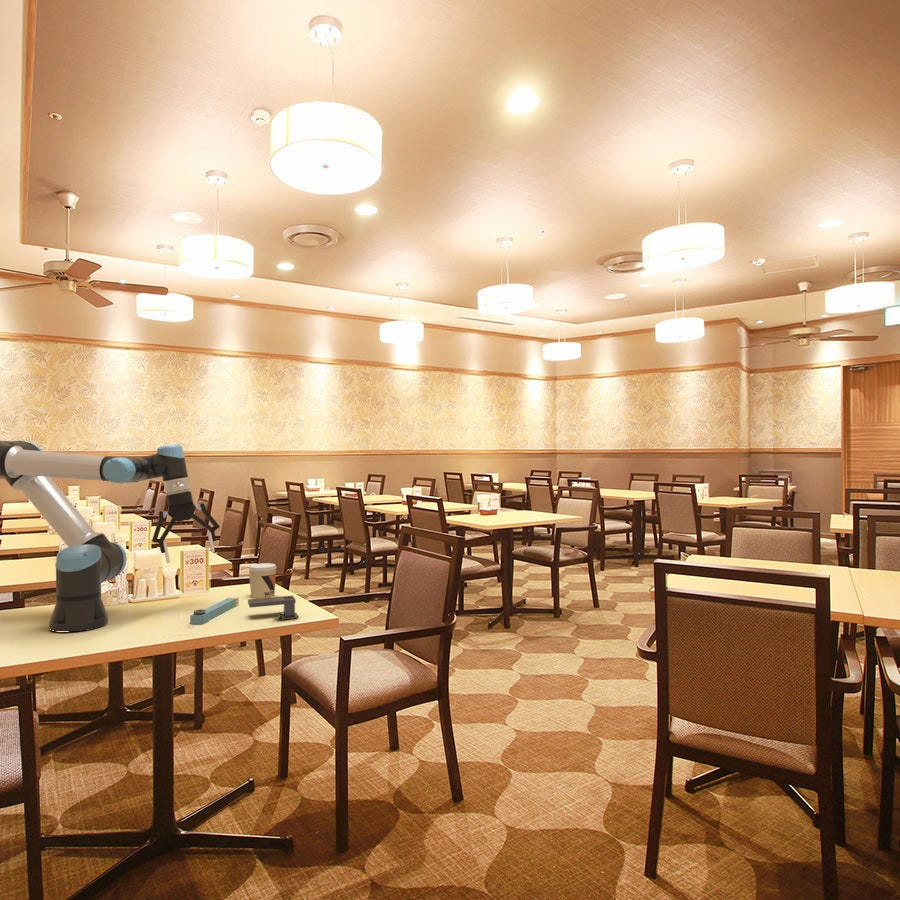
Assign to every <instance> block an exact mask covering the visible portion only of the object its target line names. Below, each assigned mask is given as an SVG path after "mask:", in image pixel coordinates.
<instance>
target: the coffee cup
mask: <svg viewBox="0 0 900 900" xmlns="http://www.w3.org/2000/svg"><path fill="white" fill-rule="evenodd" d="M248 570H249V574H248V575H249V588H250V598H251V599H258V598H270V597H275V593H276V576H277V565H276V564H275V563H272V562H271V563H269V562H268V563H267V562H263V563H261V562H260V563H254V564H250V566H249V568H248Z"/></svg>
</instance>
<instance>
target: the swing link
mask: <svg viewBox="0 0 900 900" xmlns="http://www.w3.org/2000/svg"><path fill="white" fill-rule="evenodd" d="M239 601H240V599H239V596H229V597H226V599H223V600H221V601H219V602H217V603H215V604H213V605H211V606H209V607H206V608H204V610H205V613H203V615H196V614H194V613H192V614H190V615H189V618H190V619H189V624H190V625H204V624H207V623H208V622H210V621H211V620H212V619H214V618H216V617H218V616H220V615H223V613H224V614H225V613H226V612H228V611H230V610H232V609H233V608H235V607H238V606H239V605H240V604H239V603H240V602H239Z"/></svg>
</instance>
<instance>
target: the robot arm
mask: <svg viewBox="0 0 900 900" xmlns="http://www.w3.org/2000/svg"><path fill="white" fill-rule="evenodd" d="M161 477H162V483H163V487H164V492H165V494H167V495H166V497H165V498H166V502H167V507H168V508H167V510H165V511H163V510H162V511H160V510H159V511H158V519H157V523H156V527H155V529H154V533H153V536H152V539H151V542H153V543H156V544H159V549H160V553H161V554H164V555H165V560H166V563H167V564H170V563H171V560H170V556H169V555H170V554H169V551H168V545H167V542H166V541H165V539H166V538H167V536H168V535H169V533H170V532H171V530H172V528H173V527H174V525H175V523H176V522H178V523H181V522H184V521H189V520H191V519H193V520H194V521H195V522H197V523H198V524H199V525H201V526H202V527H203V528H205V529H206V530H208V531H209V532H207V537H208V542H209V548H210V552H211V553H215V546H214V542H216V540H217V538H216V537H217V536H216V533H215V531H217V530H218V529H220V525H219V524H218V522H217V521H216V520H215V518H214V517H213V516H212V515H211V513H210V512H209V511H208V510H207V509H206V505H205V503H203V502H200V503H199V504H196V505H195V504H194V500H193V493H192V492H191V485H190V479H189V474H188V469H187V463H186V456H185V454H184V451H183V447H182V445H181V444H178V443H175V444H167V445H163V446H159V447H157V449H156V453H154V454H149V455H144V456H138V457H136V456H135V457H131V456H130V457H127V456H126V457H123V456H110V455H108V456H106V455H97V454H84V453H83V454H82V453H69V452H68V453H67V452H58V451H57V452H56V451H44V450H43V449H42V448H41V447H40V446H38V445H37V444H35V443H32V442H31V441H30V442H29V441H25V440H13V441H12V440H0V479H2V480H3V479H4V480H5V481H6V482H7V484H9V486H11V488H12V489H13V490H15V491H22V493H23V494H24V496H25V497H26V498H27V499H28V500H29V501H30V503H31V504H32V505H33V506H34V507H35V508H36V509H37V511H38V512H39V513H40V515H42V517H43V518H44V520H46V521H47V523H48V525H49V526H50V527H51V528H52V529H53V530H54V531H55V533H56V534H57V535H58V536H59V538H60V539H61V540H62V541H63V542H64V544H65V545H66V546H67V547H66V548H65V547H64V548H63V549H61V550H59V551H58V552H57V554H56V556H55V557H56V559H55V563H54V564H55V591H56V592H55V594H56V595H55V600H56V601H55V605H54V608H53V611H52V612H51V613H52V614H51V617H50V618H49V619H50V620H49V621H48V623H49V627H48V629H51V630H54V631H80V630H86V631H88V630H87V629H91V630H93V629H92V628H95V629H98V628H97V627H99V628H101V627H100V626H102V627H104V626H106V625H107V624H108V623H109V622H108V621H109V619H108V618H109V616H108V612H107V610H106V607H105V604H104V602H103V600H102V583H105V582H107V581H108V582H109V581H110V580H113V579H115V577H117V576H119V575H120V574H121V573H122V572H123V571H124V569H125V567H126V564H127V559H128V558H127V554H126V551H125V549H124V547H122V545H120V544H119V543H116V542H111V541H110V540H109V538H107V536H106V535H105V534H104V532H97V531H95V530H94V529H93V527H92V526H91V525H90V524H89V522H88V521H87V520H86V519H85V517H84V516H83V515H82V514H81V513H80V512H79V510H78V509H77V508H76V507H75V506H74V504H73V503H72V502H71V501H70V499H69V498H68V497H67V496H66V495H65V494H64V492H63V491H62V490H61V489H60V487H59V486H58V485H57V483H55V482H54V480H53V479H52V478H60V479H61V478H62V479H75V480H85V481H86V480H89V481H103V482H111V483H115V484H125V483H126V484H131V483H138V482H141V481H148V480H152V479H157V478H161ZM196 509H197V510H198V511H201V512H202V514H203V515H204V516H205V518H206V519H207V520H208V521H209V523H210V524H211V525H209V524H208V523H207V522H205V520H203V519H202V518H200V517H199V516H198V515H196V514H195V512H196ZM167 515H168V516H169V517H170V521H169V522H168V525H167V526H166V527H165V530H163V532H162V534H161V536H160V537H159V534H160V532H161V528H162V525H163V522H164V519H165V518H166V517H167ZM105 624H106V625H105ZM103 625H104V626H103ZM80 632H81V631H80Z"/></svg>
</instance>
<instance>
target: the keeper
mask: <svg viewBox="0 0 900 900" xmlns="http://www.w3.org/2000/svg"><path fill="white" fill-rule="evenodd" d="M296 603H297V602H296V597H295V596H294V595H284V596H282V595H281V596H273V597H270V598H258V599H257V598H250V599H249V598H248V599H247V604H248V606H249V608H259V607H271V606H280V605H282V606H283V613H280V614H279V618H280V617H281V618H280V619H282V620H283V621H285V620H284V619H292V620H295V619H294V618H300V616H299V615H298V612H296ZM282 620H281V621H282Z"/></svg>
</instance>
